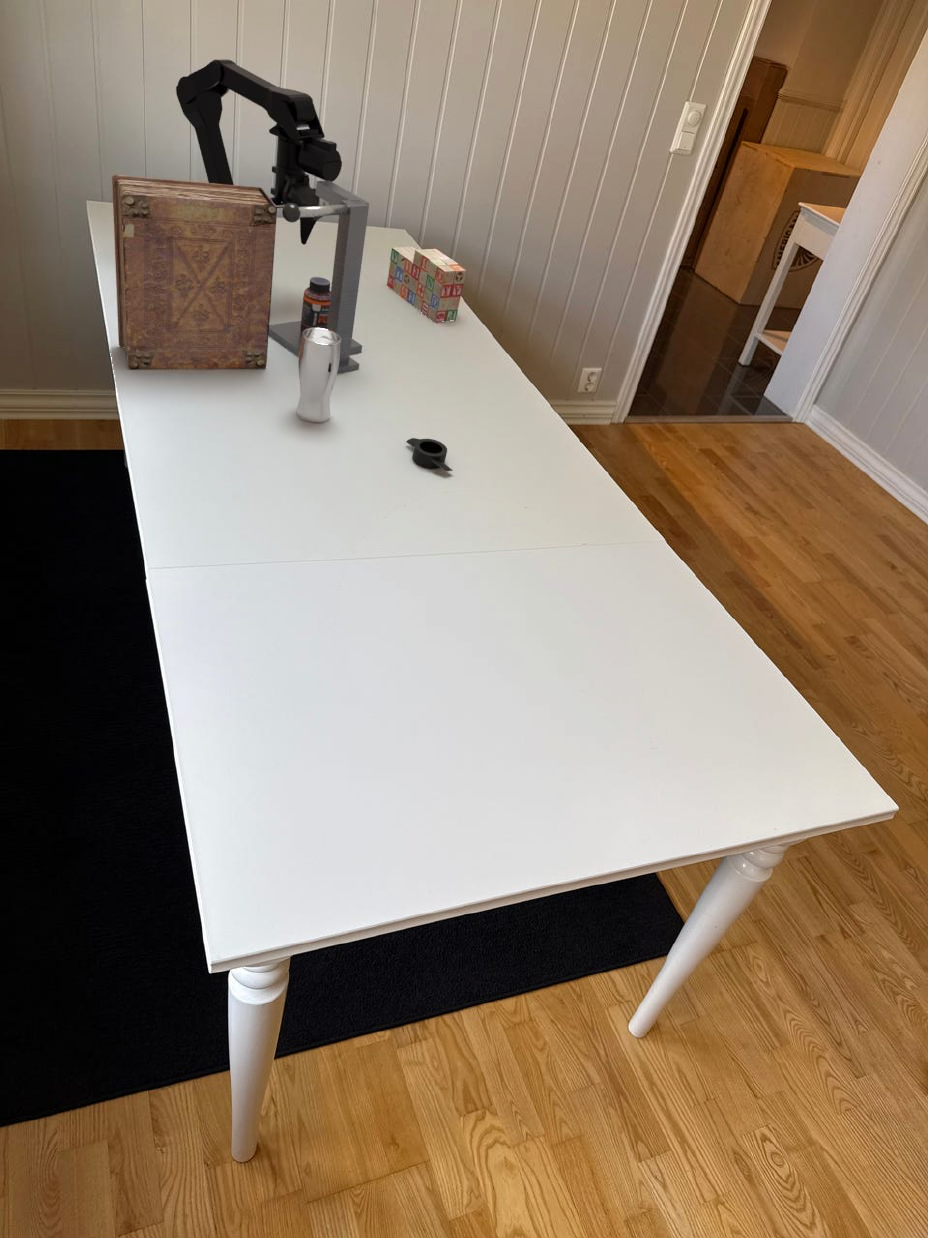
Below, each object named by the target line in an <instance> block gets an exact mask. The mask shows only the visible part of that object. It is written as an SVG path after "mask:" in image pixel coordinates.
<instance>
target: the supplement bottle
mask: <svg viewBox="0 0 928 1238" xmlns="http://www.w3.org/2000/svg"><path fill="white" fill-rule="evenodd" d="M330 295H331V281H330V280H329V279H326V278H324V277H320V276H313V277H311V278H310V279H309V287H306V288H305V289H304V291H303V297H302V308H301V316H300V317H301V318H300V321H301V327H300V332H301V334H302V332H303V331H304V330H305V329H307V328H324V329H327V323H328V314H329V305H330Z"/></svg>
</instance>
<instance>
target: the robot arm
mask: <svg viewBox="0 0 928 1238" xmlns="http://www.w3.org/2000/svg"><path fill="white" fill-rule="evenodd" d="M229 91H232V92H233V93H236V94H237V95H239V96H241V97H243V98H245V99H246V100H248V101H250V102H252V103H254V104H255V105H257V106H259V107H261V108H262V109H263V110H264V111H266V113H267V115H268V117H269V118H270V119H271V120H272V121H274V122H275V123H276V124H275V125H274V126H273V127H271V128H269V129H268V132H269V134H271V135H272V136H275V137H277V141H276V142H277V143H276V146H277V147H276V163H275V165H271V172H272V173H274V174H275V175H274V176H275V179H274V187H270V194H271V195H273V197H269V198H270V199H271V200H272V201H273V203H274V204H275V205H276V206H277V209H283V207H284V206H285V205H286V204H288V203H294V204H296V205H297V206H298V207H310V206H319V197H318V196H316V195H315V194H316V187H315V188H313V187H311V184H310V180H311V179H310V175H311V176H314V177H316V178H319V179H321V180H322V181H331V182H333V183H334V181H336V179H337V178H338V177H339V175H340V173H341V171H342V166H343V162H342V157H341V154H340V152H339V151H338V150H337V146H338V145H337V143H336V142H334V141H331V140H327V139H325V137H326V136H325V132H324V130H323V127H322V124H321V122H320V119H319V116H318V114H317V111H316V108H315V103H314V99H313V98H312V97H311V95H309V94H308V93H305V92H302V91H298V90H296V89H289V88H284V87H280V86H277V85H275V84H272V83H271V82H270V81H267V80H265V79H264V78H261V77H260V76H258V75H257V74H254V73H253V72H251V71H249V70H247V69H245V68H243V67H241V66H239V65H238V64H236V62H234V61H233V60H231V59H213V60H212V61H210V62H209V63H208V64H206V65H205V66H204V67H202V68H200V69H197V70H195V71H194V72H192V73H190V74H189V75H187V76H182V77H180V78H179V80H178V82H177V85H176V86H175V93H176V97H177V100H178V102H179V105H180V109H181V111H182V114H183V115H184V117H185V118H186V119H187V120H188V122H189V123H190V124H191V126H192V127H193V128H194V131H195V134H196V137H197V141H198V146H199V151H200V154H201V158H202V162H203V165H204V170H205V173H206V177H207V181H208V182H207V183H213V184H224V185H235V184H234V181H233V176H232V173H231V168H230V163H229V161H228V156H227V153H226V151H227V150H226V147H225V143H224V140H223V136H222V131H221V127H220V124H221V123H220V122H221V118H222V114H223V102H222V98H223V97H224V96H226V95H227V94H228V93H229ZM298 128H299V129H298ZM300 128H301V129H300ZM302 128H304V129H302ZM323 217H324V216H316V217H300V218H299V222H300V223H299V229H300V230H299V231H300V232H299V234H300V243H301V244H302V245H306V244H307V242H308V239H309V238H310V236H311V234H312V231H313V229H314V228H315V226H316V223H317V221H319V220H320V219H321V218H323Z"/></svg>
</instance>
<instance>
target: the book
mask: <svg viewBox="0 0 928 1238" xmlns="http://www.w3.org/2000/svg"><path fill="white" fill-rule="evenodd" d="M111 185H112V186H111V187H112V206H113V208H112V210H113V212H112V213H113V214H112V215H113V233H114V235H113V236H114V238H113V239H114V257H115V259H114V260H115V279H116V280H115V281H116V283H115V284H116V285H115V286H116V307H117V330H118V335H117V336H118V337H117V338H118V346H119V347H120V348H121V347H124V348H123V349H124V351H125V353H126V357H127V358H126V359H127V368H128V369H129V370H131V371H142V370H144V371H150V370H152V371H154V370H157V371H158V370H159V371H160V370H163V371H164V370H165V371H166V370H168V371H169V370H253V369H255V370H257V369H261V370H262V369H263V370H265V369H266V368H267V361H268V350H269V349H268V346H269V325H270V317H271V304H272V302H271V301H272V291H273V290H272V288H273V276H274V275H273V274H274V262H275V261H274V259H275V247H276V231H277V215H278V208H277V206H276V205H275V204H274V203H273V201H272V200H271V199H270V198H271V197H270V196H269V195H268V194H267V192H266V191H265V190H264V189H263V188H262V187H259V186H258V187H255V186H245V185H235V184H234V185H224V184H213V183H209V182H202V181H201V182H200V181H188V180H180V179H178V180H177V179H167V178H154V177H144V176H134V175H133V176H132V175H123V174H121V175H120V174H114V175H112V176H111Z"/></svg>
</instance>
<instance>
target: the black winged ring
mask: <svg viewBox="0 0 928 1238" xmlns="http://www.w3.org/2000/svg"><path fill="white" fill-rule="evenodd" d="M405 443H407V444H408V445H410V446H411V447H413V451H412V456H411V457H412V458H411V459H412V461H413V463H414V464H415V465H417V466H418V467H421V468H423V469H427V470H439V469H442V470H444V471H445V472H453V471H454V470H453V469H452V468H450V466H448V464H446V458H447V454H448V448H447V446H446V445H445V444H443V443H442V442H441V441H438V440H436V439H434V438H433V439H432V438H416V437H412V438H409V439H407V440H406V441H405Z"/></svg>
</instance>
